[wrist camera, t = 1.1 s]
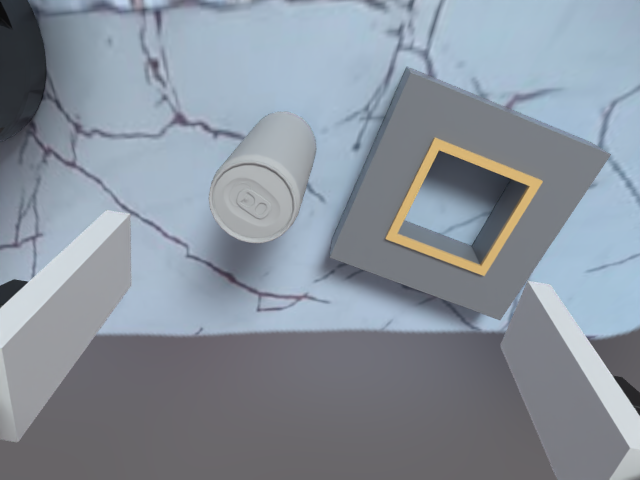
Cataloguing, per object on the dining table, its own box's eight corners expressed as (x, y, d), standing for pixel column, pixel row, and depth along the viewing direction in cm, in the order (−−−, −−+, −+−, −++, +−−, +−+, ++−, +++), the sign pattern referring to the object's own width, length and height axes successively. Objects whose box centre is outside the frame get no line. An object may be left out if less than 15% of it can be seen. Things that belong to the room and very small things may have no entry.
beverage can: (275, 95, 35) (237, 138, 24) (331, 136, 36) (317, 195, 25) (240, 149, 37) (189, 211, 26) (293, 186, 38) (265, 262, 27)
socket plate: (331, 239, 39) (329, 259, 36) (407, 66, 33) (411, 73, 30) (490, 298, 40) (501, 322, 38) (591, 142, 34) (612, 155, 31)
